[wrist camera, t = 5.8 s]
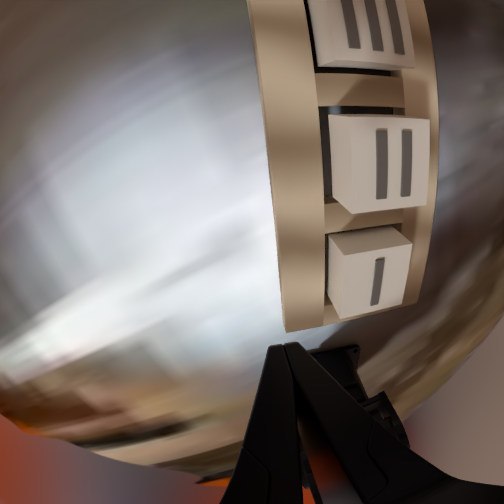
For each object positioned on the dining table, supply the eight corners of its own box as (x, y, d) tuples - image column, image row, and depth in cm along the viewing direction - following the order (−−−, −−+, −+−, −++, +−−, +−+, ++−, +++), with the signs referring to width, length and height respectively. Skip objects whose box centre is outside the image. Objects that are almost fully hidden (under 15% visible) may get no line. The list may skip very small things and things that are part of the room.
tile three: (389, 70, 14) (417, 67, 12) (317, 66, 14) (337, 59, 11) (378, 4, 12) (404, -8, 9) (306, -5, 12) (322, -23, 9)
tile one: (384, 282, 22) (402, 305, 19) (327, 293, 22) (340, 320, 19) (390, 225, 20) (413, 244, 17) (328, 234, 19) (345, 256, 17)
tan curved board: (409, 293, 24) (417, 302, 22) (282, 320, 23) (286, 332, 22) (408, -12, 12) (419, -16, 10) (242, -30, 11) (243, -39, 10)
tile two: (400, 189, 17) (427, 206, 14) (332, 196, 17) (353, 215, 14) (400, 115, 15) (430, 119, 12) (328, 114, 15) (350, 116, 12)
